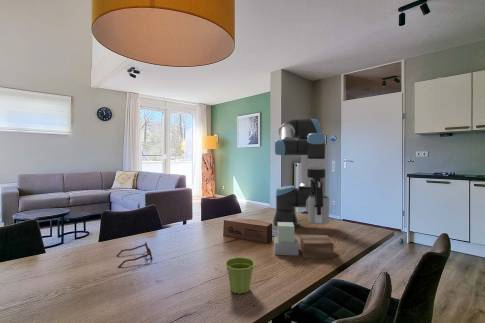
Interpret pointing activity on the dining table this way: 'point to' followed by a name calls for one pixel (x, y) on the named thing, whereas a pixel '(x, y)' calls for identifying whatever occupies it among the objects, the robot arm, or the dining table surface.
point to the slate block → (286, 247)
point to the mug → (311, 209)
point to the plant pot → (240, 274)
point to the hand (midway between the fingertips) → (316, 219)
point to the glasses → (138, 257)
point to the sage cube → (285, 232)
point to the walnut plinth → (316, 246)
